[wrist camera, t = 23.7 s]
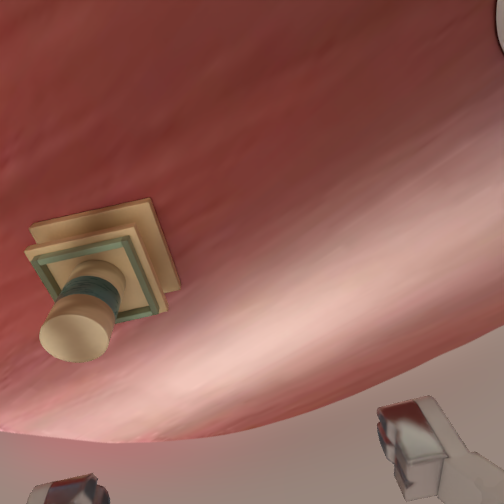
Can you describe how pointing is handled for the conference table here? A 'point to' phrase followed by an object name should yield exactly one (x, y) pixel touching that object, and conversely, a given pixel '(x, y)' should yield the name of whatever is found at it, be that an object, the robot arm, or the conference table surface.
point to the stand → (109, 253)
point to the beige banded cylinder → (84, 312)
